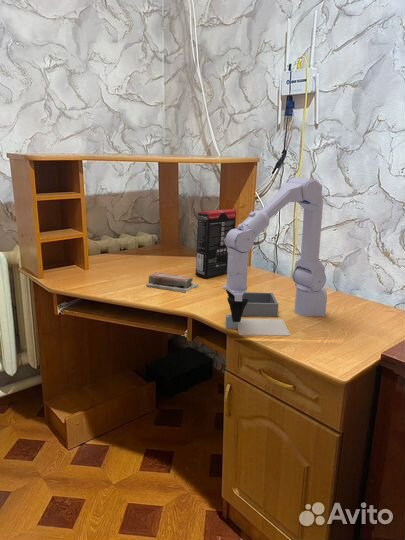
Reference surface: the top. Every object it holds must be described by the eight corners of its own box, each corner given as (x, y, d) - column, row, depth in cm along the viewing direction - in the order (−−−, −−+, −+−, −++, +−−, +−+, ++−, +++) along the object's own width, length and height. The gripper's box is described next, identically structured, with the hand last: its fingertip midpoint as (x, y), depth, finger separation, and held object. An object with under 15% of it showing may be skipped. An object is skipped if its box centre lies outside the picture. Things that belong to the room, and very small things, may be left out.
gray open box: (271, 306, 142) (272, 292, 141) (277, 319, 132) (278, 304, 131) (230, 305, 142) (230, 291, 141) (232, 318, 132) (233, 303, 130)
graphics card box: (222, 269, 188) (224, 208, 180) (234, 272, 183) (237, 209, 176) (195, 276, 176) (196, 211, 169) (206, 279, 171) (208, 213, 164)
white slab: (282, 323, 129) (283, 310, 128) (289, 339, 118) (291, 325, 117) (224, 322, 129) (224, 309, 128) (226, 338, 118) (227, 323, 117)
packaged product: (144, 275, 160) (157, 269, 168) (145, 288, 161) (157, 281, 170) (188, 282, 153) (198, 275, 162) (187, 294, 154) (198, 287, 163)
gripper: (222, 264, 126) (220, 307, 129) (224, 278, 112) (222, 326, 115) (245, 265, 126) (243, 307, 130) (251, 279, 112) (248, 326, 116)
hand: (235, 316), depth 123 cm, fingers open, 7 cm apart
